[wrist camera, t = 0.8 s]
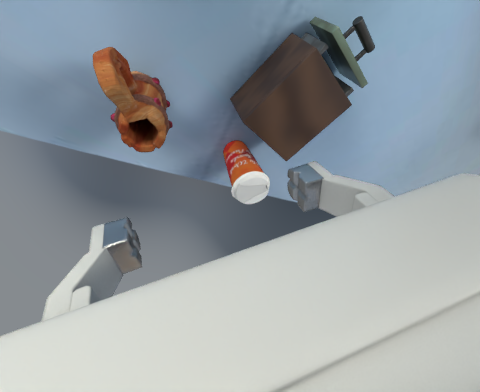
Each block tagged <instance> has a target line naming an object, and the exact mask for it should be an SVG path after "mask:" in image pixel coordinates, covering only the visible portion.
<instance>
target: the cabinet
mask: <svg viewBox="0 0 480 392" xmlns="http://www.w3.org/2000/svg"><path fill="white" fill-rule="evenodd" d="M230 100H231V102H232V103H233V105H234V107H235V109H236V111H237V112H238V114H239V116H240V118H241V120H242V121H243V123H244V124H246V125H247V126H248V127H249V128H250V129H251V130H252V131H253V132H254V133H256V134H257V135H258V136H259V137H260V138H261V139H262V140H263V141H264V142H266V143H267V144H268V145H269V146H270V147H271V148H272V149H273V150H274V151H275V152H277V153H278V154H279V155H280V156H281V157H282V158H283V159H284V160H285V161H287V160H289V159H290V158H291V157H292V156H293V155H294V154H296V153H297V152H298V151H299V150H300V149H301V148H303V147H304V146H305V145H306V144H307V143H308V142H309V141H311V140H312V139H313V138H314V137H315V136H316V135H318V134H319V133H320V132H321V131H322V130H323V129H325V128H326V127H327V126H328V125H329V124H330V123H331V122H333V121H334V120H335V119H336V118H337V117H338V116H340V115H341V114H342V113H343V112H344V111H345V110H347V109H348V108H349V107H350V106H351V105H352V104H351V103H350V101H349V99H348V98H347V96H346V94H345V93H344V91H343V90H342V88H341V86H340V85H339V83H338V82H337V80H336V78H335V77H334V75H333V74H332V72H331V70H330V69H329V67H328V65H327V64H326V62H325V61H324V59H323V57H322V56H321V54H320V53H319V51H318V49H317V48H315V47H314V46H312V45H311V44H309V43H307V42H306V41H304V40H303V39H301V38H299V37H298V36H296V35H294V34H293V33H291V34H290V36H289V37H288V38H287V39H286V40H285V41H284V42H283V43H282V44H281V45H280V46H279V47H278V48H277V49H276V50H275V51H274V53H273V54H272V55H271V56H270V57H269V58H268V59H267V60H266V61H265V62H264V63H263V64H262V65H261V66H260V67H259V68H258V70H257V71H256V72H255V73H254V74H253V75H252V76H251V77H250V78H249V79H248V80H247V81H246V82H245V83H244V84H243V86H242V87H241V88H240V89H239V90H238V91H237V92H236V93H235V94H234V95H233V96H232V97H231V98H230Z"/></svg>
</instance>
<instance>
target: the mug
mask: <svg viewBox="0 0 480 392" xmlns="http://www.w3.org/2000/svg"><path fill="white" fill-rule="evenodd" d="M93 66H94V69H95V73H96V76H97V79H98V82H99V84H100V86H101V88H102V90H103V92H104V93H105V95H106V96H107V97H108V98H109V99H110V100H111V101H112V102H113V103H114V104H115V105H116V106H117V108H116V111H115V113H114V114H112V115H111V120H112V121H114V122H115V123H116V126H117V129H118V130H119V132H120V133H121V139H122V141H123V142H124V143H125V144H127V145H128V146H129V147H133V148H134V149H135V150H136V151H138V152H152V151H154V149H155V148H156V147H157V148H160V147H161V146H162V145H163V143H164V141H165V138H166V135H167V132H168V130H169V129H170V128H172V122H171V121H169V120H168V116H167V114H166V108H167V107H169V106H170V103H169V101H167V100H166V97H165V93H164V90H163V89H162V87H161V85H160V84H159V83H160V82H159V79H157V78H151V77H149V76H148V75H146V74H143V73H140V72H137V71H133V72H131V71H130V68H129V64H128V61H127V60H126V59H125V58H124V57H123V56H122V55H121V54H120V53H119V52H118V51H117V50H116V49H115V48H113V47H108V48H105V49H102V50H100V51H97V52H95V53H94V54H93Z"/></svg>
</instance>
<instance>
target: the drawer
mask: <svg viewBox="0 0 480 392" xmlns="http://www.w3.org/2000/svg"><path fill="white" fill-rule="evenodd" d="M310 24H311V26H312V27H313V29H314V31H315V32H316V34H317V36H318V37H319V39H320V40H319V39H317V38H315V37H313V36H311V35H310V34H308V33H305V34H304V35H303V36H302V37H301V39H303V40H304V41H306V42H307V43H309V44H311V45H312V46H314V47H315V48H317V49H318V51H319V53H320V54H321V56H322V54H323V53H324V52H325V51H327V53H328V54H329V56H330V58H331V59H332V61H333V63H334V64H335V66H336V68H337V69H338V71H339V73H340V74H342V75H343V76H345V77H346V78H348V79H349V80H351V81H352V82H354V83H355V84H357V85H358V86H360V87H361V88H363V87H364V86H365V85H367V84H368V83H367V81H366V79H365V77H364V75H363V73H362V71H361V69H360V67H359V65H358V63H357V61H358V60H359V59H360V58H361V57H362V56H363V55H364V54H365V53H369V52H371V51H373V50H374V48H375V45H374V43H373V40H372V38H371V36H370V33H369V31H368V29H367V26H366V24H365V22H364V19H363V17H362V16H360V17H357V18H356V19H355V20H354V21H353V23H352V24H353V26H351V27H350V28H349V29H348V30H347V31H346V32H345V33H344V34H342V32H341V30H340V28H339V27H338V26H335V25H333V24H331V23H328V22H326V21H324V20H322V19H319V18H317V17H314V18H313V19H312V20H311V21H310ZM354 30H355V31H356V33H357V35H358V37H359V39H360V41H361V43H362V46H363V48H364V49H363V50H362V51H361V52H360V53H359V54H358V55H357V56H356V57H354V55H353V54H352V52H351V50H350V48H349V46H348V44H347V42H346V40H345V39H346V38H347V37H348V36H349V35H350V34H351V33H352V32H353V31H354ZM323 59H324V58H323ZM324 61H325V60H324ZM326 64H327V63H326ZM328 67H329V66H328ZM329 69H330V68H329ZM331 72H332V71H331ZM332 74H333V73H332ZM334 77H335V78H336V80H337V82H338V83H339V85H340V86H341V88H342V90H343V91H344V93H345V94H346V96H348V95H350V94H351V93H352V92H353V91H354V90H353V89H352V88H351V87H350V86H349V85H347V84H346V83H344V82H343V81H341V80H340V79H339V78H337V77H336V76H334Z"/></svg>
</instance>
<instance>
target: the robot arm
mask: <svg viewBox="0 0 480 392" xmlns="http://www.w3.org/2000/svg"><path fill="white" fill-rule="evenodd" d="M288 177H289V178H290V180H289V182H288V191H289V194H290V196H291V197H292V198H293V200H296V201H298V206H299V207H300V208H301V209H302V210H303V211H304V212H306V211H309V210H312V209H316V208H319V209H321V210H324V211H326V212H328V213H330V214H332V215H335V216H337V217H335V218H333V219H330V220H327V221H324V222H322V223H318V224H316V225H313V226H310V227H307V228H304V229H302V230H299V231H296V232H293V233H290V234H288V235H284V236H282V237H279V238H276V239H273V240H270V241H268V242H265V243H262V244H259V245H256V246H253V247H251V248H248V249H245V250H242V251H240V252H237V253H234V254H231V255H228V256H225V257H222V258H220V259H217V260H214V261H211V262H208V263H206V264H203V265H200V266H197V267H195V268H191V269H189V270H186V271H183V272H180V273H177V274H174V275H172V276H169V277H166V278H163V279H160V280H158V281H155V282H152V283H149V284H146V285H143V286H141V287H138V288H135V289H132V290H129V291H127V292H123V293H121V294H118V295H115V296H113V294H114V292H115V290H116V288H117V286H118V284H119V282H120V281H121V279H122V277H123V274H125V273H128V272H130V271H133V270H135V269H138V268H141V267H142V261H141V255H140V253H139V251H140V242H139V238H138V236H137V233H136V231H135V230H133V229H132V223H131V221H130V220H129V218H128V217H127V218H123V219H120V220H116V221H112V222H109V223H106V224H102V225H99V226H95V227H93V228H92V233H91V241H90V249H89V253H87V254H85V255H84V257H82V259H81V260H80V261H79V262H78V263H77V265H76V266H75V267H74V268H73V269H72V270H71V271H70V272H69V274H68V275H67V276H66V277H65V278H64V280H63V281H62V282H61V283H60V284H59V285H58V286H57V287H56V289H55V290H54V291H53V292H52V293H51V294H50V296H49V297H48V298H47V301H46V305H45V309H44V313H43V317H42V321H41V322H39V323H36V324H33V325H30V326H27V327H25V328H22V329H19V330H16V331H13V332H10V333H8V334H5V335H2V336H0V392H480V175H475V174H467V173H462V174H457V175H454V176H451V177H448V178H445V179H442V180H440V181H437V182H434V183H431V184H428V185H426V186H423V187H420V188H417V189H414V190H411V191H409V192H406V193H403V194H400V195H397V196H394V195H392V194H391V193H390V192H388V191H387V190H386V189H384V188H383V187H381V186H380V185H375V184H371V183H367V182H363V181H359V180H355V179H351V178H347V177H343V176H339V175H334V176H333V175H332V174H331V173H330V172H329V171H327V170H326V169H325V168H324V167H323V166H321V165H320V164H319V163H318V162H316V161H313V162H310V163H307V164H305V165H302V166H298V167H295V168H292V169H289V170H288Z"/></svg>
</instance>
